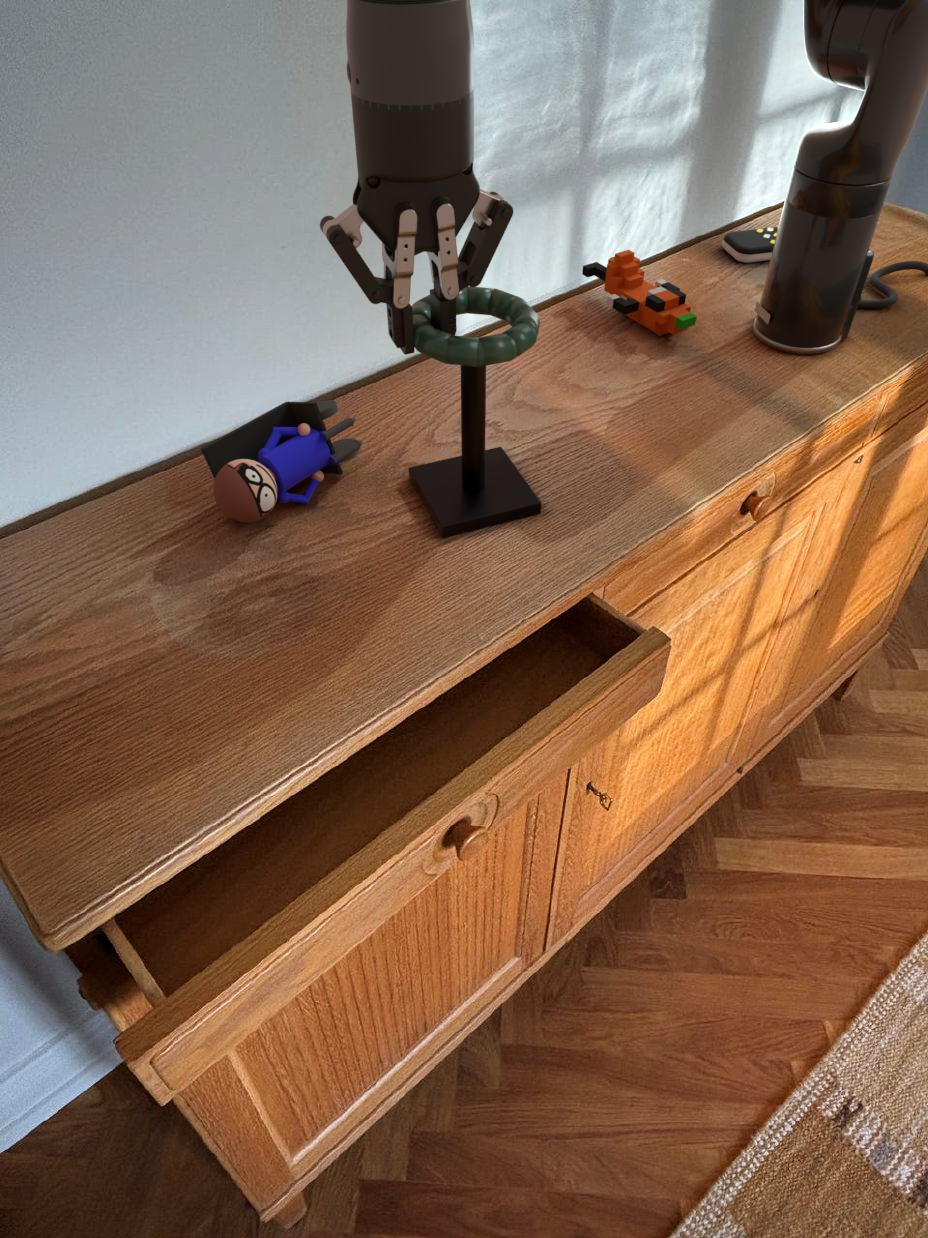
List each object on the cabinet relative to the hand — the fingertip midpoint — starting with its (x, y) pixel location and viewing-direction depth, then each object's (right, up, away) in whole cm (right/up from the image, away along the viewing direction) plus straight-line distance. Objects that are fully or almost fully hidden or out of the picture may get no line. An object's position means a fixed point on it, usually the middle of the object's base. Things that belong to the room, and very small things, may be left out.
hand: (423, 344), depth 65 cm
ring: (+4, +2, 0) cm, 4 cm away
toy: (+23, +14, +35) cm, 44 cm away
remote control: (+43, +27, +48) cm, 70 cm away
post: (+4, -10, +12) cm, 16 cm away
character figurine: (-12, -10, +12) cm, 20 cm away
